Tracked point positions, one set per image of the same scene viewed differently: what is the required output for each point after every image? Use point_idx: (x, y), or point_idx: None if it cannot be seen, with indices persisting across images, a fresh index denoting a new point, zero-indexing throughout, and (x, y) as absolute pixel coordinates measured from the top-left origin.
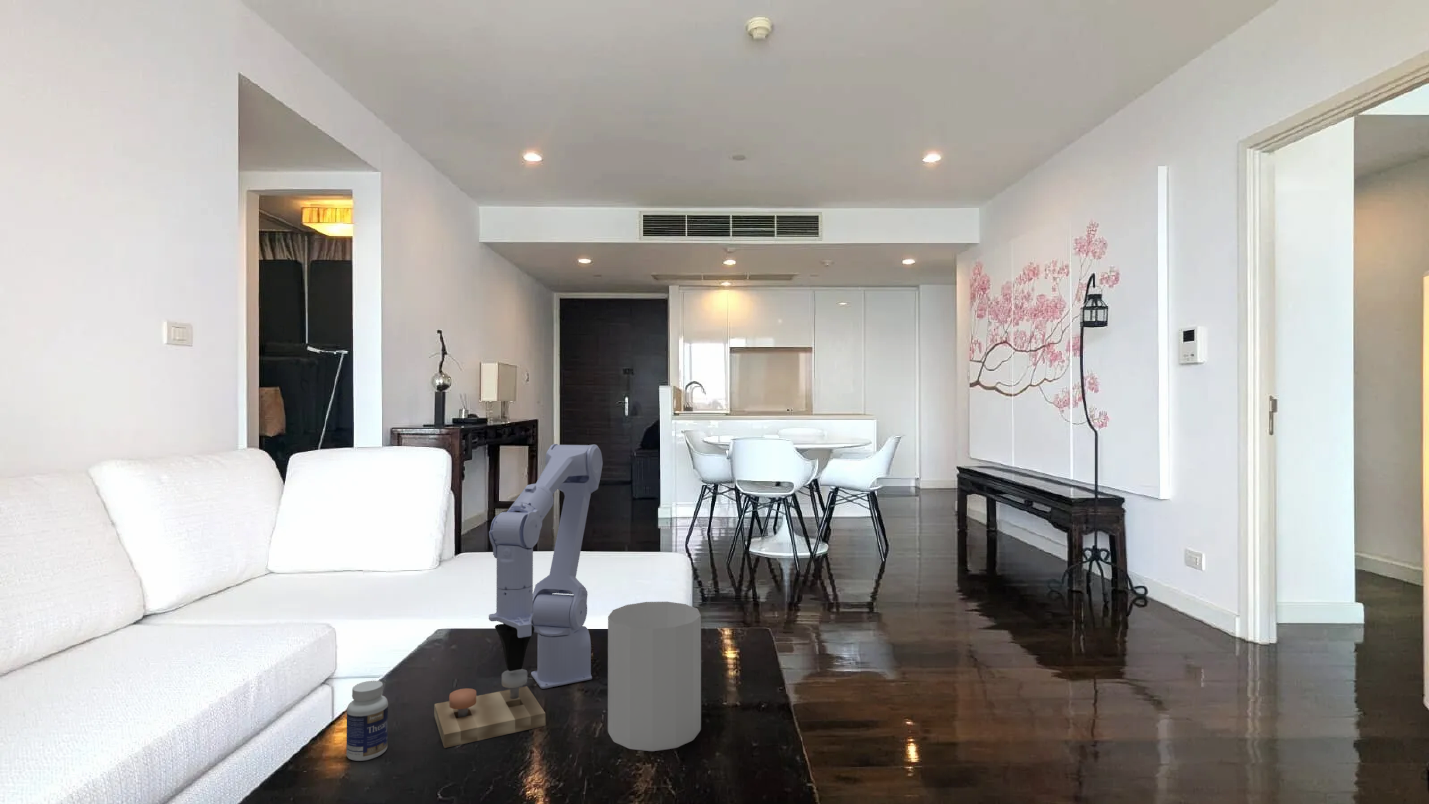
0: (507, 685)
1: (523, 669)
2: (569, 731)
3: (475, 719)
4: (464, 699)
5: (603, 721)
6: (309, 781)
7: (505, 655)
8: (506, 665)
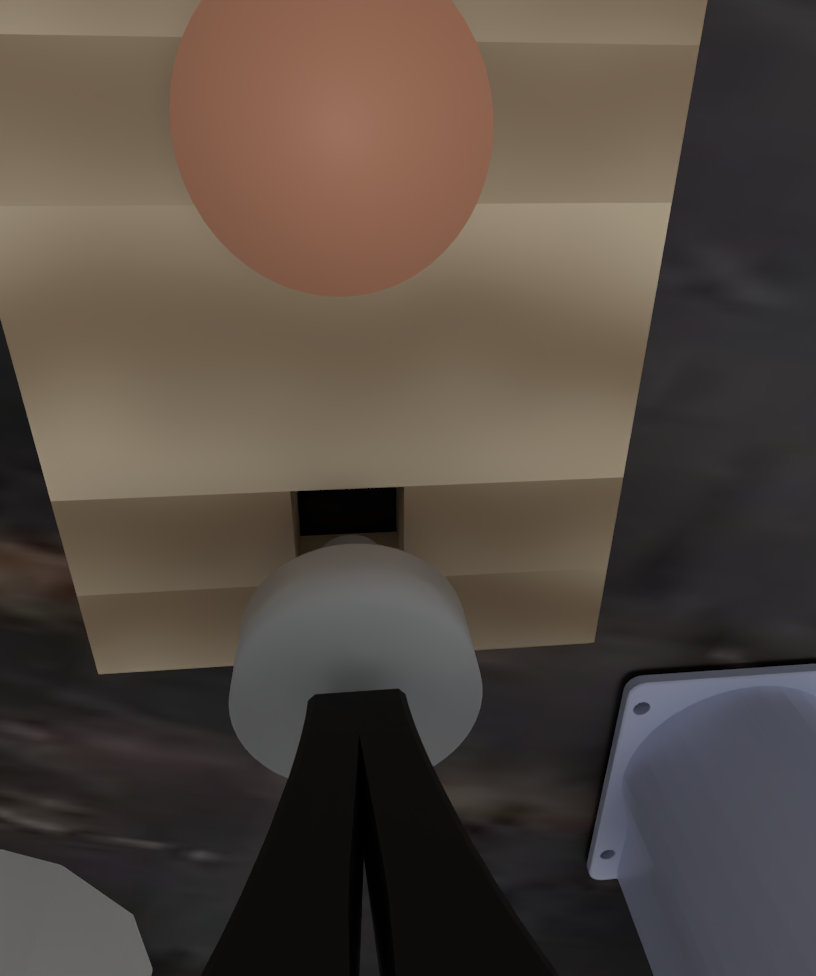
0: (267, 590)
1: None
2: (4, 706)
3: (156, 218)
4: (177, 128)
5: (77, 837)
6: None
7: (333, 833)
8: (390, 713)
